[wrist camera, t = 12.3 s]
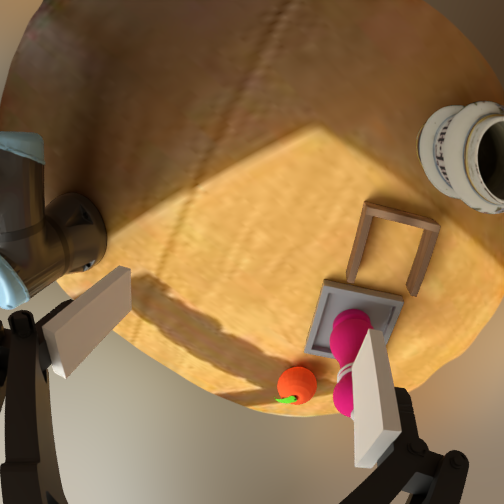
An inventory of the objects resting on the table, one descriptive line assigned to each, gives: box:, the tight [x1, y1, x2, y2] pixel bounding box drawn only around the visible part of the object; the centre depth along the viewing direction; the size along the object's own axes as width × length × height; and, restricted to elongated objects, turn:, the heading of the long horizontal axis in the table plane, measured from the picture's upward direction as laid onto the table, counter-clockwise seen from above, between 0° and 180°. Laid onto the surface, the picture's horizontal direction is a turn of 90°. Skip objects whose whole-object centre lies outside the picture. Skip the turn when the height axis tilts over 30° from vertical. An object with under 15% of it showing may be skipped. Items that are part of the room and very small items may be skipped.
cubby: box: [346, 202, 441, 297], centre depth 43 cm, size 11×11×4 cm
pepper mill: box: [329, 309, 374, 421], centre depth 40 cm, size 7×7×20 cm
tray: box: [304, 280, 404, 359], centre depth 49 cm, size 13×13×2 cm
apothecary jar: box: [416, 101, 504, 214], centre depth 29 cm, size 12×12×18 cm
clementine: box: [274, 367, 317, 405], centre depth 53 cm, size 8×7×7 cm
